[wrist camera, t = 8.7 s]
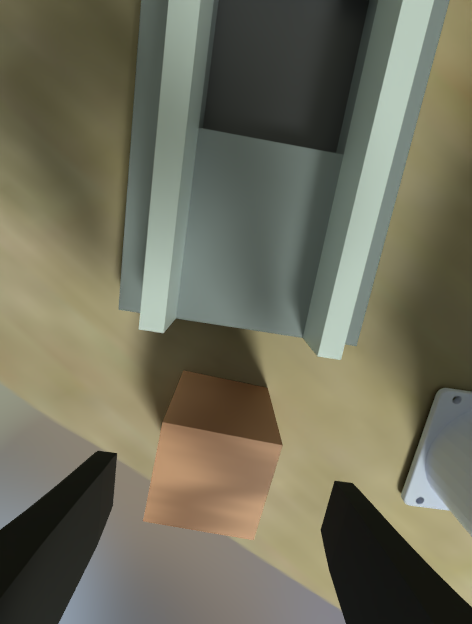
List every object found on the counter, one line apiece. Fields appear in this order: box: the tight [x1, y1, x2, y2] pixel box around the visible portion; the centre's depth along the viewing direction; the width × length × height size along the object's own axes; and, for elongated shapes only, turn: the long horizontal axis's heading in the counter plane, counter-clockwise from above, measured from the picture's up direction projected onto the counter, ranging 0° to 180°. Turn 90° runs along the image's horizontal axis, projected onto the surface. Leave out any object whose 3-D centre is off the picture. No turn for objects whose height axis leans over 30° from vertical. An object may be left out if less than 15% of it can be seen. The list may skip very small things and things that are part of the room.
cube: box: [143, 370, 283, 540], centre depth 14 cm, size 5×5×5 cm
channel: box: [119, 0, 449, 360], centre depth 12 cm, size 12×16×4 cm
